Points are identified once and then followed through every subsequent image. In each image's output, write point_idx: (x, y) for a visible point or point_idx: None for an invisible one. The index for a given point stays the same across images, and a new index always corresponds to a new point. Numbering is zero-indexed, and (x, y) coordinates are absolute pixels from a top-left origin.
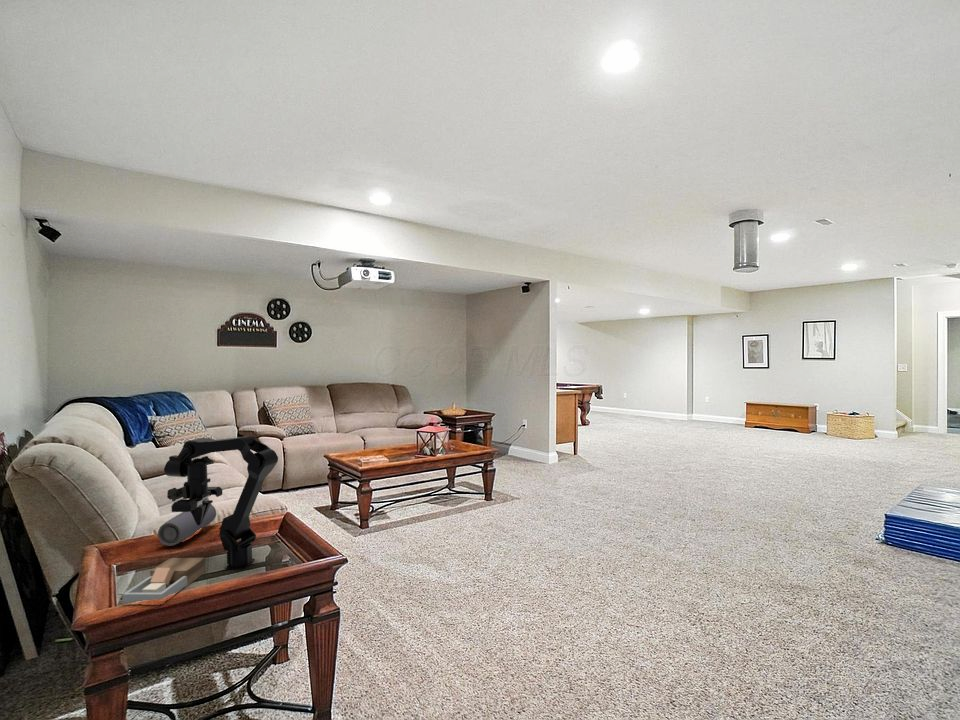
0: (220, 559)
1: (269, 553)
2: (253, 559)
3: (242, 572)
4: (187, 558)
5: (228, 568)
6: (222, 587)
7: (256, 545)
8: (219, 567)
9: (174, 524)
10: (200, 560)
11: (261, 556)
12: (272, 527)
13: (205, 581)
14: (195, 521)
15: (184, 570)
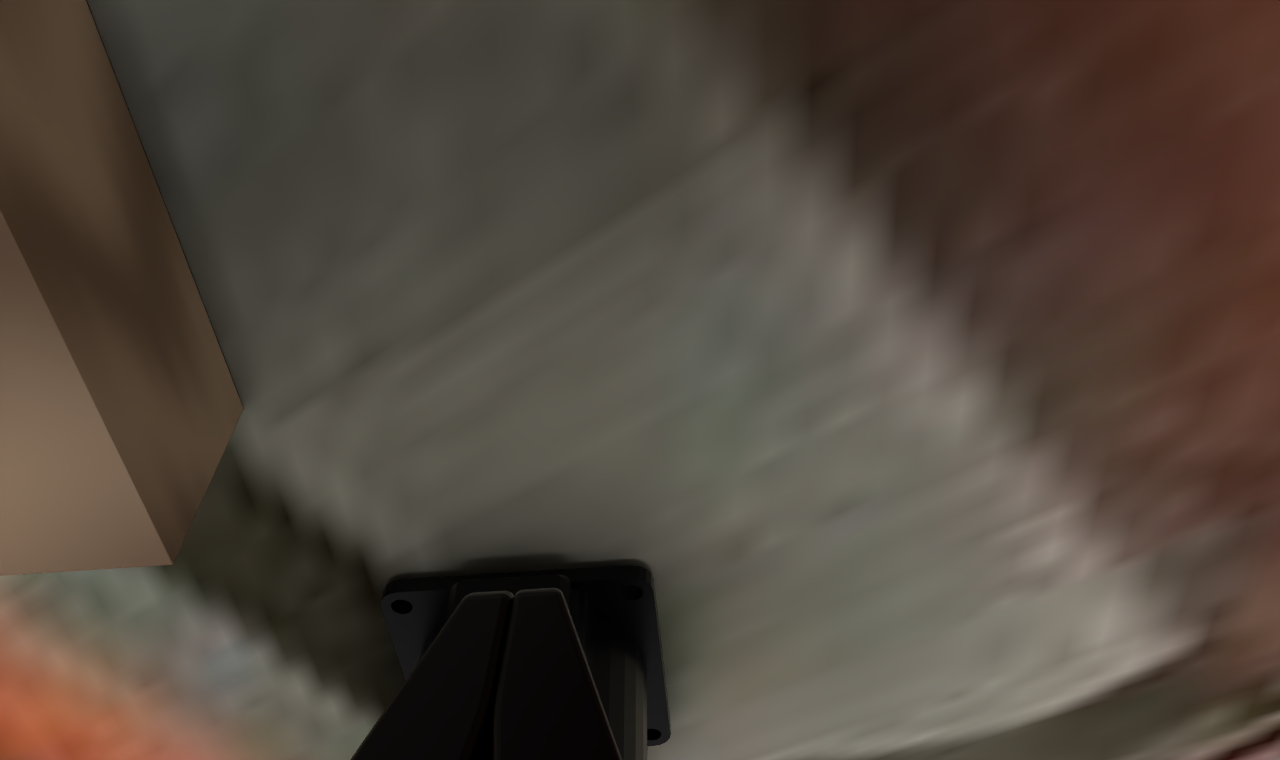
0: (682, 354)
1: (881, 756)
2: (661, 729)
3: None
4: (26, 323)
5: (387, 617)
6: (13, 743)
7: (1193, 540)
8: (423, 485)
9: None
10: (63, 561)
11: (795, 726)
12: None
13: None
14: (391, 708)
15: None
